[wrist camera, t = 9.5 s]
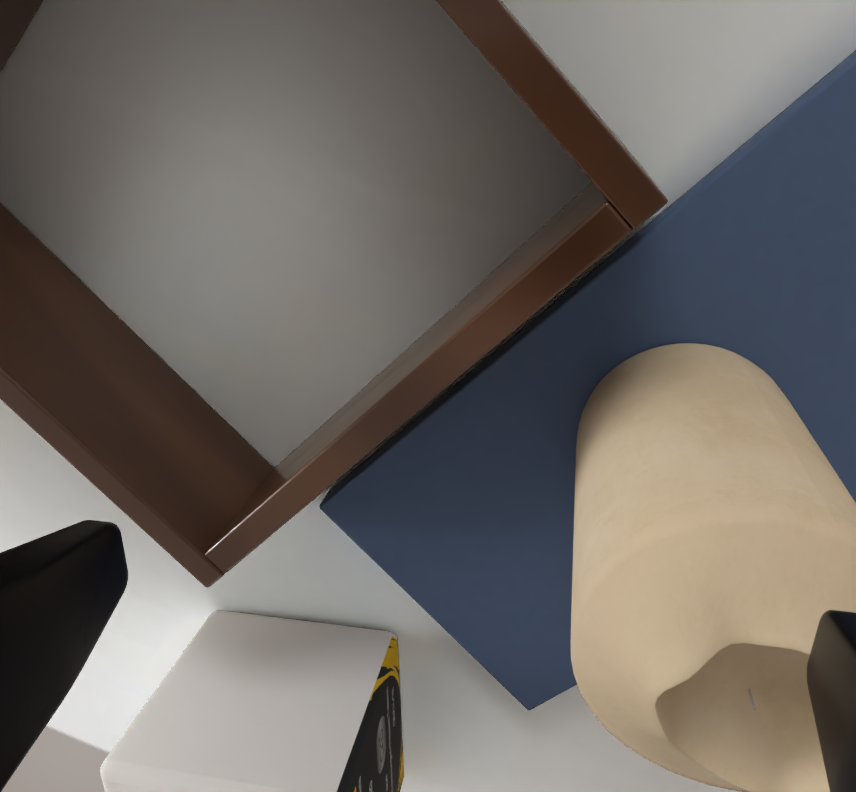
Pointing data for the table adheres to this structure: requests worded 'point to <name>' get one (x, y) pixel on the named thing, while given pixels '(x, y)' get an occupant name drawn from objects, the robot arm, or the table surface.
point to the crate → (358, 419)
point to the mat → (592, 360)
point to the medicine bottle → (269, 713)
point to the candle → (705, 568)
